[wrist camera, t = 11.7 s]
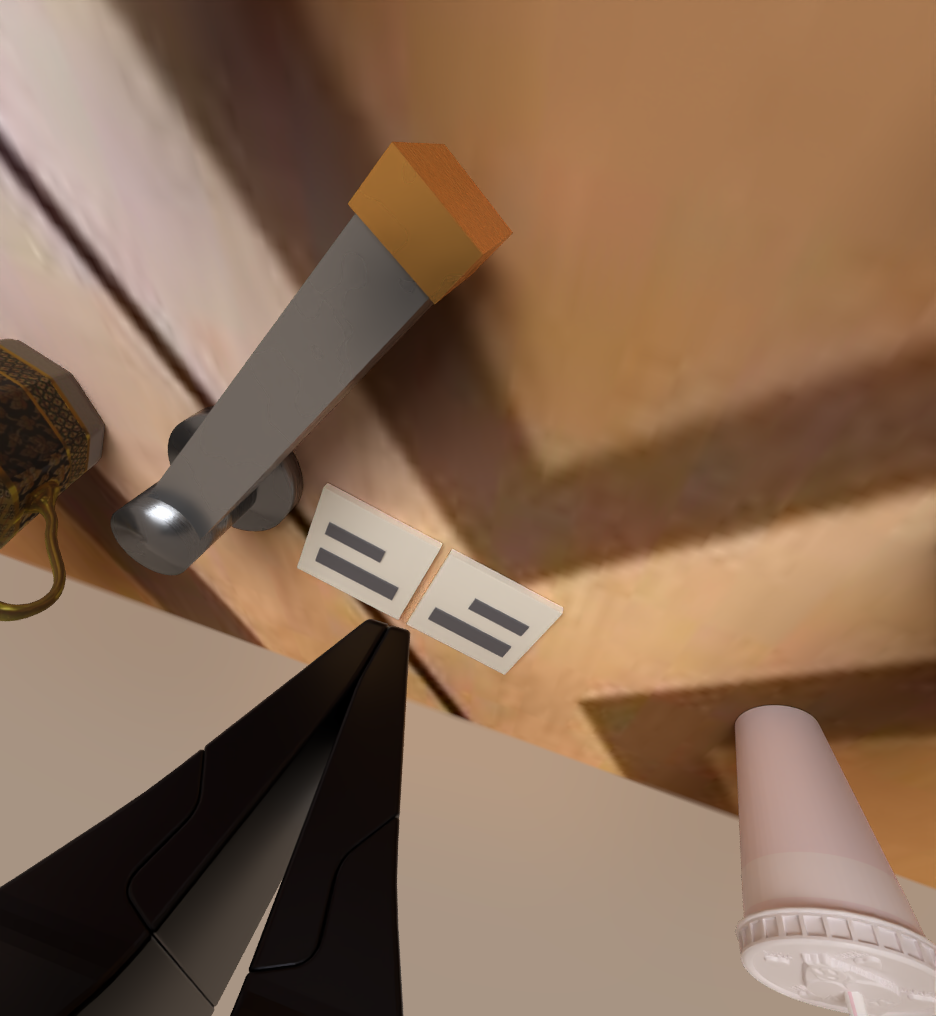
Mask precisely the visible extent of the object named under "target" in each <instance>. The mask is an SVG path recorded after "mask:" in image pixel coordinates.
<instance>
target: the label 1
mask: <svg viewBox="0 0 936 1016" xmlns="http://www.w3.org/2000/svg"><path fill="white" fill-rule="evenodd" d="M441 546H442V543H440V542H439V541H437V540H435V539H433V538H431V537H429V536H427V535H425V534H423V533H422V532H420V531H418V530H416V529H414V528H412V527H410V526H408V525H406V524H405V523H403V522H401V521H399V520H397V519H395V518H393V517H391V516H389V515H388V514H386V513H384V512H382V511H380V510H378V509H376V508H374V507H372V506H371V505H369V504H367V503H365V502H363V501H361V500H359V499H357V498H355V497H354V496H352V495H350V494H348V493H346V492H344V491H342V490H340V489H338V488H337V487H335V486H333V485H331V484H329V483H327V484H326V485H325V486H324V487H323V490H322V493H321V496H320V499H319V502H318V505H317V508H316V511H315V514H314V517H313V520H312V523H311V526H310V529H309V533H308V536H307V539H306V542H305V545H304V548H303V551H302V554H301V557H300V560H299V563H298V566H297V568H298V569H300V570H302V571H304V572H306V573H308V574H310V575H312V576H314V577H316V578H318V579H320V580H322V581H323V582H325V583H327V584H329V585H331V586H333V587H335V588H337V589H339V590H341V591H343V592H345V593H347V594H349V595H351V596H353V597H355V598H356V599H358V600H360V601H362V602H364V603H366V604H368V605H370V606H372V607H374V608H376V609H378V610H380V611H382V612H384V613H386V614H388V615H389V616H391V617H393V618H395V619H397V620H398V619H399V618H400V616H401V614H402V613H403V611H404V609H405V607H406V606H407V604H408V602H409V601H410V599H411V597H412V596H413V594H414V592H415V591H416V589H417V587H418V586H419V584H420V582H421V581H422V579H423V577H424V575H425V574H426V572H427V570H428V569H429V567H430V565H431V564H432V562H433V560H434V559H435V557H436V555H437V554H438V552H439V550H440V548H441Z"/></svg>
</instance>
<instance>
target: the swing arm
mask: <svg viewBox="0 0 936 1016" xmlns="http://www.w3.org/2000/svg"><path fill="white" fill-rule="evenodd" d="M348 205H349V206H350V207H351V208H352V210H353V211H354V212H355V215H354V216H353V217H352V219H351V220H350V221H349V223H348V224H347V226H346V227H345V228H344V230H343V231H342V232H341V234H340V235H339V236H338V238H337V239H336V241H335V242H334V243H333V245H332V246H331V247H330V249H329V250H328V251H327V253H326V254H325V256H324V257H323V258H322V260H321V261H320V262H319V264H318V265H317V266H316V268H315V269H314V271H313V272H312V273H311V275H310V276H309V277H308V279H307V280H306V281H305V283H304V284H303V286H302V287H301V288H300V290H299V291H298V292H297V294H296V295H295V296H294V298H293V299H292V301H291V302H290V303H289V305H288V306H287V307H286V309H285V310H284V311H283V313H282V314H281V316H280V317H279V318H278V320H277V321H276V322H275V324H274V325H273V326H272V328H271V329H270V331H269V332H268V333H267V335H266V336H265V337H264V339H263V340H262V341H261V343H260V344H259V346H258V347H257V348H256V350H255V351H254V352H253V354H252V355H251V357H250V358H249V359H248V361H247V362H246V363H245V365H244V366H243V367H242V369H241V370H240V372H239V373H238V374H237V376H236V377H235V378H234V380H233V381H232V382H231V384H230V385H229V387H228V388H227V389H226V391H225V392H224V393H223V395H222V396H221V397H220V399H219V400H218V402H217V403H216V404H215V406H214V407H213V408H212V410H211V411H210V412H209V414H208V415H207V417H206V418H205V419H204V421H203V422H202V423H201V425H200V426H199V427H198V429H197V430H196V432H195V433H194V434H193V436H192V437H191V438H190V440H189V441H188V442H187V444H186V445H185V447H184V448H183V449H182V451H181V452H180V453H179V455H178V456H177V457H176V459H175V460H174V462H173V463H172V464H171V466H170V467H169V468H168V470H167V471H166V472H165V474H164V475H163V477H162V478H161V479H160V481H158V482H157V483H155V484H154V485H153V486H151V487H150V488H148V489H147V490H146V491H144V492H143V493H141V494H140V495H138V496H137V497H136V498H134V499H133V500H131V501H130V502H129V503H127V504H126V505H124V506H123V507H122V508H120V509H119V510H117V511H116V512H115V513H114V514H113V515H112V517H111V529H112V532H113V534H114V536H115V538H116V540H117V542H118V543H119V544H120V546H121V547H122V548H123V549H124V550H125V552H126V553H127V554H128V555H130V556H131V557H132V558H133V559H134V560H135V561H137V562H138V563H140V564H141V565H143V566H144V567H146V568H148V569H150V570H152V571H155V572H157V573H161V574H165V575H177V574H180V573H182V572H184V571H185V570H186V569H187V568H188V567H189V566H190V565H191V564H192V563H193V562H194V561H195V560H196V559H198V558H199V557H200V556H201V555H202V554H203V553H204V552H205V551H206V550H207V549H208V548H209V547H210V546H211V545H212V544H213V543H214V542H215V541H216V540H217V539H218V538H219V537H221V536H222V535H223V534H224V533H225V532H226V531H227V530H228V529H229V528H230V527H231V526H232V525H233V524H234V523H235V522H236V521H237V520H238V519H239V518H240V517H241V516H243V515H244V514H245V513H246V512H247V511H248V510H249V509H250V508H251V507H252V506H253V505H254V503H255V501H256V498H257V490H256V488H257V487H258V486H259V485H260V484H261V483H262V482H263V481H264V480H265V479H266V478H267V477H268V476H269V475H270V474H271V473H272V472H273V470H274V469H275V468H276V467H277V466H278V465H279V464H280V463H281V462H282V461H283V460H284V459H285V458H286V457H287V456H288V455H289V454H290V453H291V452H292V451H293V450H294V449H295V448H296V447H297V446H298V444H299V443H300V442H301V441H302V440H303V439H304V438H305V437H306V436H307V435H308V434H309V433H310V432H311V431H312V430H313V429H314V428H315V427H316V426H317V425H318V424H319V423H320V422H321V421H322V420H323V418H324V417H325V416H326V415H327V414H328V413H329V412H330V411H331V410H332V409H333V408H334V407H335V406H336V405H337V404H338V403H339V402H340V401H341V400H342V399H343V398H344V397H345V396H346V395H347V393H348V392H349V391H350V390H351V389H352V388H353V387H354V386H355V385H356V384H357V383H358V382H359V381H360V380H361V379H362V378H363V377H364V376H365V375H366V374H367V373H368V372H369V371H370V370H371V369H372V367H373V366H374V365H375V364H376V363H377V362H378V361H379V360H380V359H381V358H382V357H383V356H384V355H385V354H386V353H387V352H388V351H389V350H390V349H391V348H392V347H393V346H394V345H395V344H396V343H397V341H398V340H399V339H400V338H401V337H402V336H403V335H404V334H405V333H406V332H407V331H408V330H409V329H410V328H411V327H412V326H413V325H414V324H415V323H416V322H417V321H418V320H419V319H420V318H421V317H422V315H423V314H424V313H425V312H426V311H427V310H428V309H429V308H430V307H431V306H432V305H433V304H436V303H437V302H438V301H440V300H441V299H442V298H443V297H445V296H446V295H447V294H448V293H450V292H451V291H452V290H453V289H455V288H456V287H457V286H458V285H459V284H461V283H462V282H463V281H464V280H466V279H467V278H468V277H469V276H471V275H472V274H473V273H474V272H475V271H476V270H477V269H478V268H479V267H480V266H481V265H482V264H483V263H484V262H485V261H486V260H487V259H488V258H489V257H490V256H491V255H492V254H493V252H494V251H495V250H496V249H497V248H498V247H499V246H500V245H501V244H502V243H503V242H504V241H505V240H506V239H507V238H508V237H509V236H510V235H511V234H512V233H513V232H512V231H511V230H510V228H509V227H508V226H507V225H506V223H505V222H504V221H503V219H502V218H501V217H500V215H499V214H498V213H497V212H496V210H495V209H494V208H493V206H492V205H491V204H490V203H489V201H488V200H487V199H486V197H485V196H484V195H483V194H482V192H481V191H480V190H479V188H478V187H477V186H476V185H475V183H474V182H473V181H472V179H471V178H470V177H469V176H468V174H467V173H466V172H465V170H464V169H463V168H462V167H461V165H460V164H459V163H458V161H457V160H456V159H455V157H454V156H453V155H452V154H451V152H450V151H449V150H448V148H447V147H446V146H445V145H444V144H428V143H405V142H392V143H391V144H390V145H389V147H388V148H387V150H386V151H385V152H384V154H383V155H382V157H381V158H380V159H379V161H378V162H377V164H376V165H375V166H374V168H373V169H372V171H371V172H370V173H369V175H368V176H367V178H366V179H365V180H364V182H363V183H362V185H361V186H360V187H359V189H358V190H357V192H356V193H355V194H354V196H353V197H352V199H351V200H350V201H349V203H348Z"/></svg>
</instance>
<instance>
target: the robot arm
mask: <svg viewBox="0 0 936 1016" xmlns="http://www.w3.org/2000/svg"><path fill="white" fill-rule="evenodd" d="M409 643H410V632H409V631H408V630H406V629H403V628H399V627H396V626H390V627H389V626H388V625H387V624H386V623H383V622H380V621H376V620H373V619H368V620H366V621H365V622H363V623H362V624H361V625H359V626H358V627H357V628H356V629H354V630H353V631H352V632H350V633H349V634H348V635H347V636H345V637H344V638H343V639H341V640H340V641H339V642H338V643H336V644H335V645H334V646H333V647H331V648H330V649H329V650H327V651H326V652H325V653H324V654H322V655H321V656H320V657H318V658H317V659H316V660H315V661H313V662H312V663H311V664H310V665H308V666H307V667H306V668H305V669H303V670H302V671H301V672H299V673H298V674H297V675H296V676H294V677H293V678H292V679H290V680H289V681H288V682H287V683H285V684H284V685H283V686H281V687H280V688H279V689H278V690H276V691H275V692H274V693H273V694H271V695H270V696H269V697H267V698H266V699H265V700H264V701H262V702H261V703H260V704H258V705H257V706H256V707H255V708H253V709H252V710H251V711H250V712H248V713H247V714H246V715H245V716H243V717H242V718H241V719H239V720H238V721H237V722H236V723H234V724H233V725H232V726H230V727H229V728H228V729H226V730H225V731H224V732H223V733H221V734H220V735H219V736H218V737H216V738H215V739H214V740H213V741H211V742H210V743H209V744H207V745H206V746H205V749H204V750H199V751H198V752H197V753H196V754H194V755H193V756H192V757H190V758H189V759H188V760H187V761H185V762H184V763H183V764H182V765H180V766H179V767H178V768H176V769H175V770H174V771H173V772H171V773H170V774H168V775H167V776H166V777H164V778H163V779H162V780H160V781H159V782H158V783H156V784H155V785H154V786H152V787H151V788H149V789H148V790H147V791H146V792H144V793H142V794H141V795H140V796H138V797H137V798H135V799H134V800H132V801H131V802H129V803H128V804H126V805H125V806H124V807H122V808H120V809H119V810H117V811H116V812H115V813H113V814H112V815H110V816H109V817H107V818H106V819H104V820H103V821H101V822H100V823H98V824H97V825H95V826H93V827H92V828H90V829H89V830H87V831H86V832H84V833H83V834H81V835H80V836H78V837H77V838H75V839H74V840H72V841H70V842H69V843H68V844H66V845H65V846H63V847H62V848H60V849H58V850H57V851H55V852H54V853H52V854H51V855H49V856H48V857H46V858H45V859H43V860H42V861H40V862H38V863H37V864H35V865H34V866H32V867H31V868H29V869H28V870H26V871H25V872H23V873H22V874H20V875H19V876H17V877H16V878H14V879H12V880H11V881H9V882H8V883H6V884H5V885H3V886H1V887H0V1016H211V1015H212V1014H213V1012H214V1006H216V1005H217V1004H218V1001H219V1000H220V998H221V996H222V994H223V992H224V990H225V988H226V986H227V984H228V982H229V980H230V978H231V977H232V975H233V973H234V971H235V969H236V967H237V965H238V963H239V961H240V959H241V957H242V955H243V953H244V952H245V950H246V948H247V946H248V944H249V942H250V940H251V938H252V936H253V934H254V932H255V930H256V928H257V927H258V924H259V922H260V921H261V919H262V917H263V915H264V913H265V911H266V909H267V907H268V905H269V903H270V901H271V899H272V898H273V895H274V894H275V892H276V890H277V888H278V886H279V884H280V882H281V880H282V882H281V885H280V888H279V890H278V893H277V895H276V898H275V901H274V903H273V906H272V909H271V911H270V914H269V917H268V919H267V922H266V924H265V927H264V930H263V932H262V935H261V938H260V941H259V943H258V946H257V948H256V951H255V954H254V956H253V959H252V962H251V964H250V967H249V973H248V974H247V976H246V978H245V981H244V983H243V985H242V988H241V991H240V993H239V996H238V998H237V1000H236V1003H235V1005H234V1008H233V1010H232V1013H231V1015H230V1016H403V1002H402V984H401V966H400V949H399V931H398V906H397V862H398V836H399V814H400V797H401V781H402V763H403V746H404V729H405V712H406V695H407V678H408V661H409ZM283 876H284V877H283ZM282 878H283V879H282Z"/></svg>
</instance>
